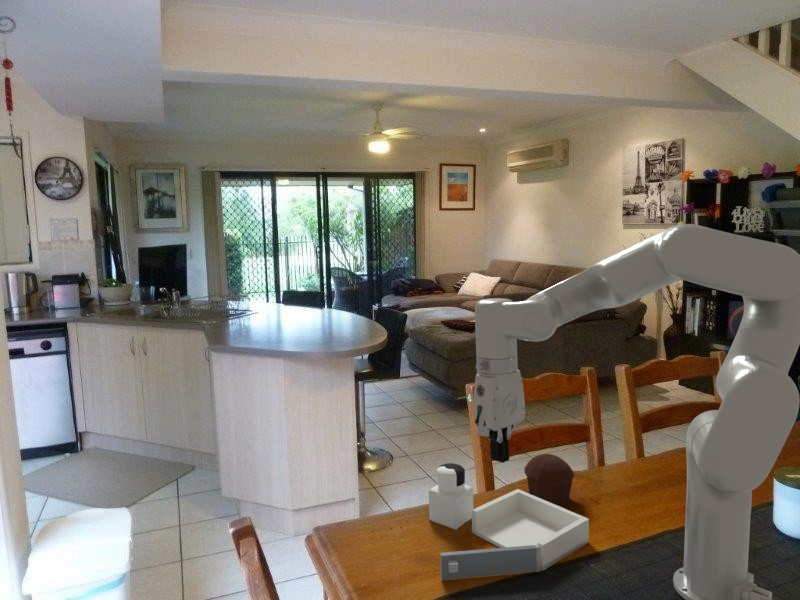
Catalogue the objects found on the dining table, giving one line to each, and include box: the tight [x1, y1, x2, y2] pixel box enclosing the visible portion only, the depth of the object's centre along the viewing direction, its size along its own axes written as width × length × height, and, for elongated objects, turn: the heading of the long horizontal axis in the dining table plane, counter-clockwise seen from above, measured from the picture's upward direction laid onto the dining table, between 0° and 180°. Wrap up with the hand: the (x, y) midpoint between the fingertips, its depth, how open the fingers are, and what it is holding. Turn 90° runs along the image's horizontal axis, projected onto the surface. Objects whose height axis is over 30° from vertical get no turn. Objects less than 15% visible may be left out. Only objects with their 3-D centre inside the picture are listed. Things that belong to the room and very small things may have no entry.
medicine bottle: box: [428, 462, 474, 531], centre depth 124 cm, size 7×7×12 cm
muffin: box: [523, 453, 575, 507], centre depth 133 cm, size 12×11×10 cm
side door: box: [439, 545, 542, 581], centre depth 102 cm, size 19×2×5 cm, turn 96°
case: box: [471, 488, 590, 572], centre depth 116 cm, size 18×15×5 cm
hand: (499, 459), depth 107 cm, fingers closed
